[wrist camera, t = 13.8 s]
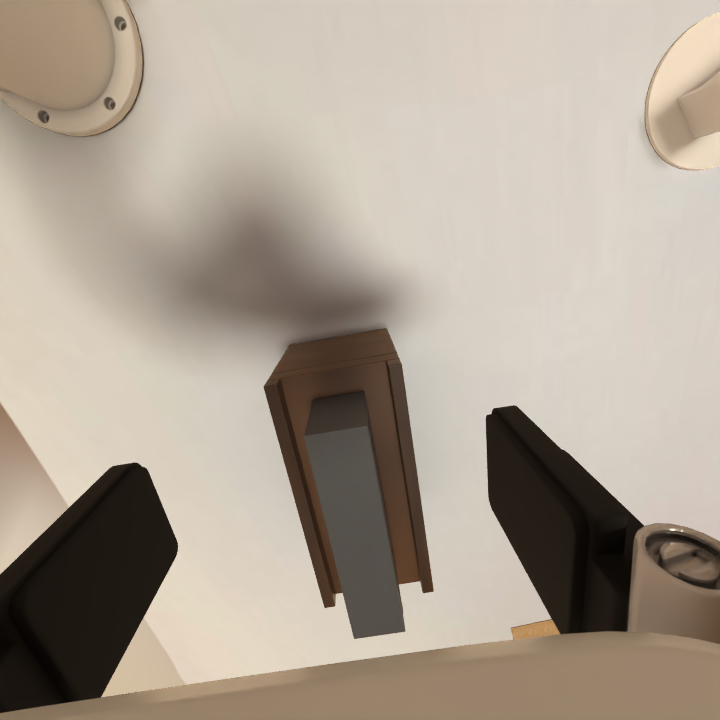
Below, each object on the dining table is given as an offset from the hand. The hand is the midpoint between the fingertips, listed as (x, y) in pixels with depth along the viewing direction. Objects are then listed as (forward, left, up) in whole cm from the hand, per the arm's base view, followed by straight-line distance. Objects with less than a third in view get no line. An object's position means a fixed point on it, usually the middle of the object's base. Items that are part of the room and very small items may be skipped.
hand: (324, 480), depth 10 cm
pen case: (-1, -14, -17) cm, 21 cm away
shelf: (-1, -13, -27) cm, 30 cm away
